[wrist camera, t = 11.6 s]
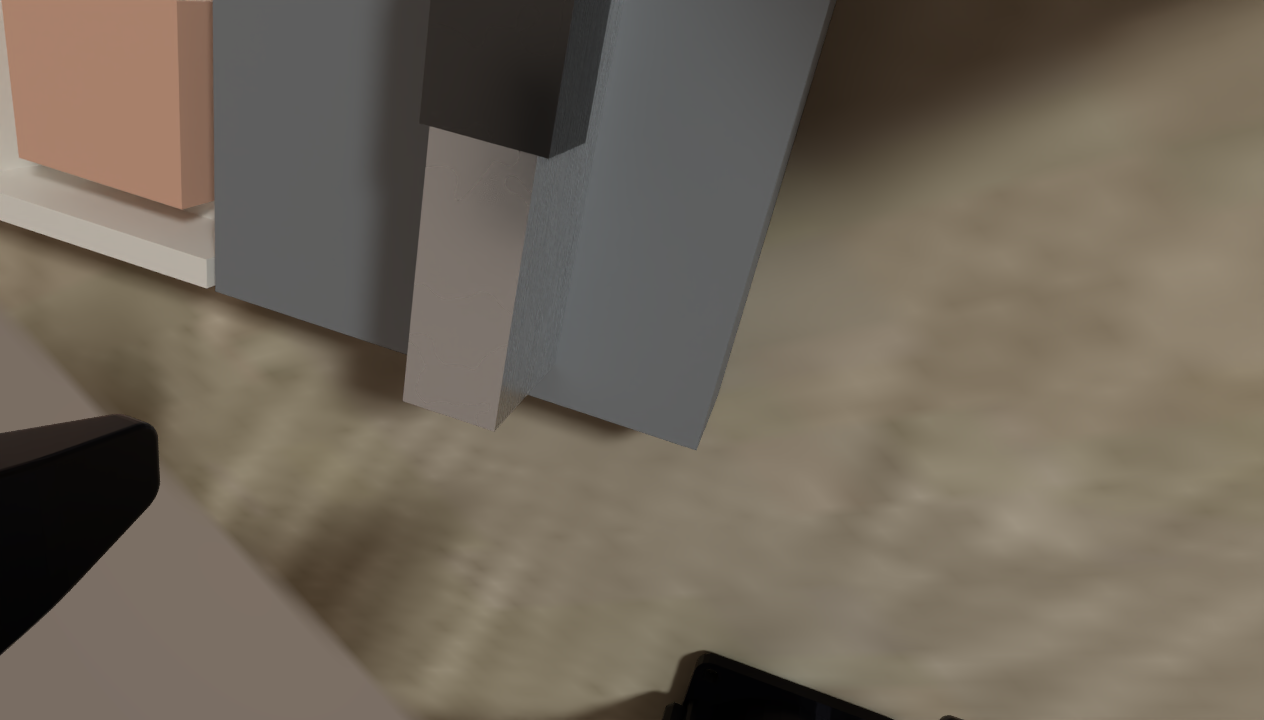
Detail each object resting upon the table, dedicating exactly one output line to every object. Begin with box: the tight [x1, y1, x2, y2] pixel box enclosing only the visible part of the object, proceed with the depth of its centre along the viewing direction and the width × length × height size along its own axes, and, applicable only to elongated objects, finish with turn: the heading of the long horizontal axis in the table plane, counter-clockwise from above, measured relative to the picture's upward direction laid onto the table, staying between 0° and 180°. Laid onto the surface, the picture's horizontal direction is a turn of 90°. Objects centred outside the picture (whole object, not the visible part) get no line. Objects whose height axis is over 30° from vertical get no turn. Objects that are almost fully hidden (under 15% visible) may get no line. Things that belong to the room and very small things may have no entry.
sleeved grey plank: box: [403, 0, 623, 431], centre depth 14 cm, size 2×15×4 cm, turn 168°
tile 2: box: [1, 0, 214, 209], centre depth 21 cm, size 5×5×2 cm
